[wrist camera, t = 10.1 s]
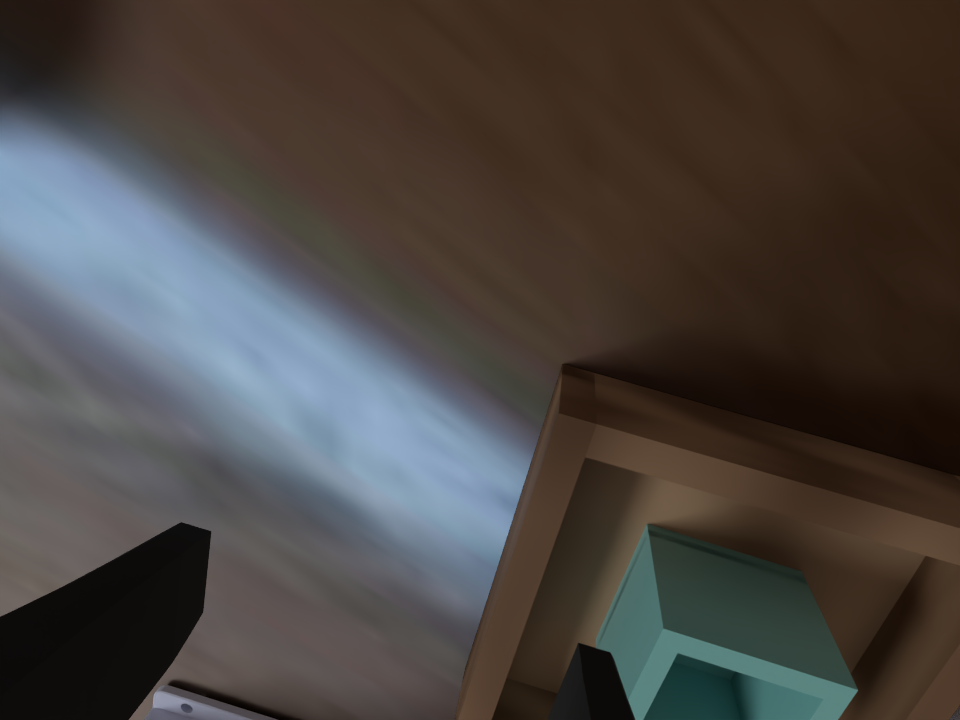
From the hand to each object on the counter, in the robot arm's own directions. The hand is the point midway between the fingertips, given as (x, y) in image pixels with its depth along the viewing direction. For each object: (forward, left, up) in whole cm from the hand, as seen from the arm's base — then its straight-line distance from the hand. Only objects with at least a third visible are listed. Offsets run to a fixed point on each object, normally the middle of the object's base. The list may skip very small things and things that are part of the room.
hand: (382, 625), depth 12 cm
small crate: (+9, -4, -9) cm, 13 cm away
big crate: (+9, -4, -9) cm, 14 cm away
